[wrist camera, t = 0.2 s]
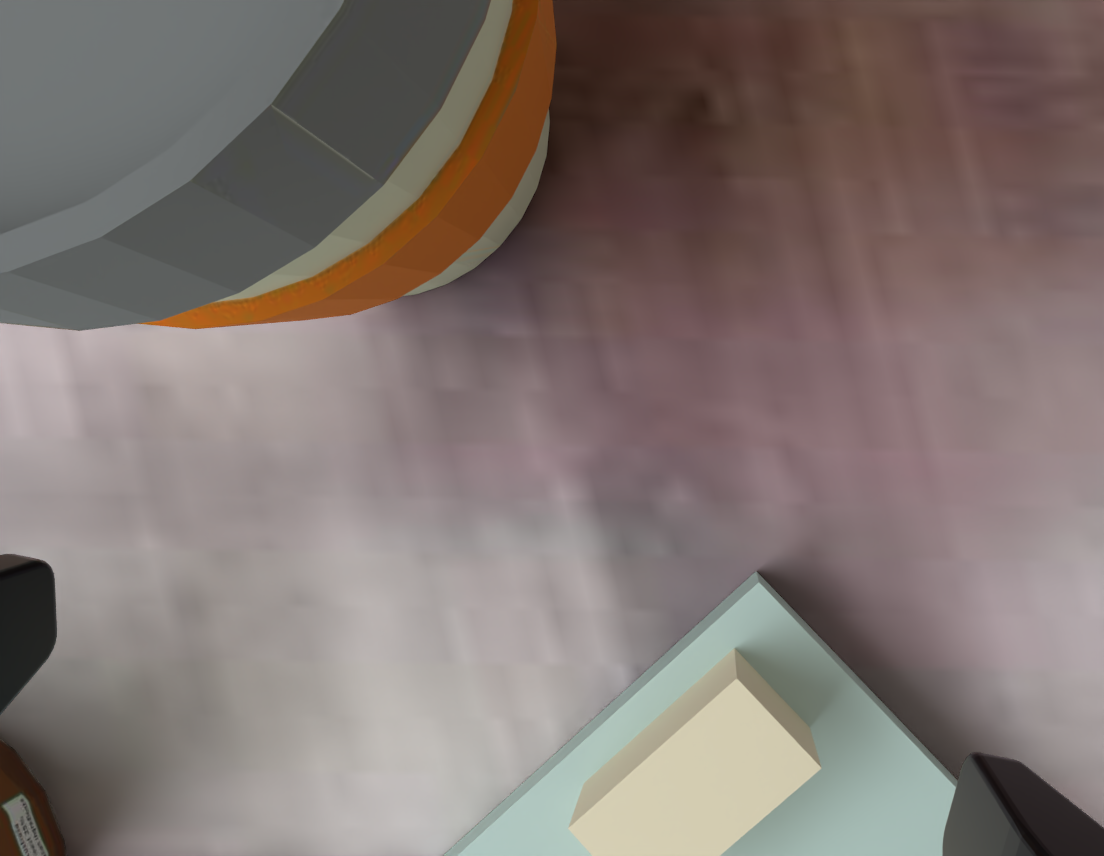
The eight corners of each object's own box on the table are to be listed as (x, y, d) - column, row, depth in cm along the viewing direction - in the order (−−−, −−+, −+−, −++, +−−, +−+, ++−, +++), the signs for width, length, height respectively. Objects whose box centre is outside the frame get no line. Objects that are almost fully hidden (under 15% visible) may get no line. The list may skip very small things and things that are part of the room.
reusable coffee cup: (211, -135, 26) (-474, -866, 11) (664, -82, 24) (578, -900, 9) (134, 319, 26) (-608, 210, 12) (567, 408, 24) (337, 412, 10)
